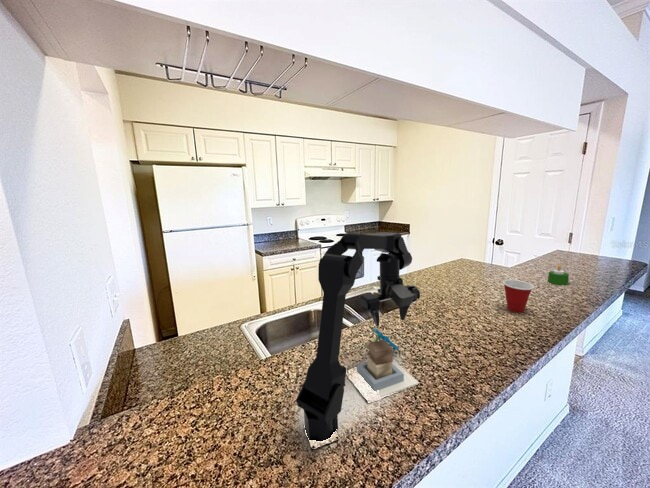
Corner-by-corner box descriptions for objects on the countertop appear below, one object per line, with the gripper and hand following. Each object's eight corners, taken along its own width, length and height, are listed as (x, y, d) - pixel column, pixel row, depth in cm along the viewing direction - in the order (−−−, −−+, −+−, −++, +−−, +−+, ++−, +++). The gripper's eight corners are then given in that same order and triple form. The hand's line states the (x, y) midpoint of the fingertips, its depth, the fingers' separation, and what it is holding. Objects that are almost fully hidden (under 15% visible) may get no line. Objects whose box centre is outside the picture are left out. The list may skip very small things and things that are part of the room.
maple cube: (377, 384, 74) (376, 367, 73) (367, 373, 79) (367, 357, 78) (392, 378, 76) (392, 362, 75) (382, 368, 81) (381, 353, 80)
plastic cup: (524, 317, 110) (526, 289, 108) (496, 309, 119) (497, 282, 117) (537, 311, 115) (539, 283, 113) (509, 303, 124) (510, 277, 122)
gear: (405, 351, 88) (383, 332, 86) (394, 366, 87) (371, 347, 85) (390, 338, 98) (370, 322, 97) (380, 352, 98) (360, 335, 96)
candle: (544, 282, 150) (545, 264, 148) (554, 280, 152) (556, 262, 150) (560, 286, 142) (562, 267, 140) (571, 284, 144) (573, 265, 143)
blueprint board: (368, 404, 68) (368, 393, 68) (343, 372, 81) (343, 363, 81) (419, 385, 74) (419, 375, 74) (388, 358, 87) (388, 349, 86)
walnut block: (376, 365, 74) (375, 351, 74) (368, 355, 79) (368, 342, 79) (392, 361, 76) (392, 348, 75) (384, 352, 80) (384, 339, 80)
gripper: (377, 286, 71) (379, 342, 73) (433, 275, 77) (433, 327, 80) (357, 276, 81) (358, 325, 83) (408, 267, 88) (408, 313, 90)
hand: (390, 323), depth 84 cm, fingers open, 9 cm apart
